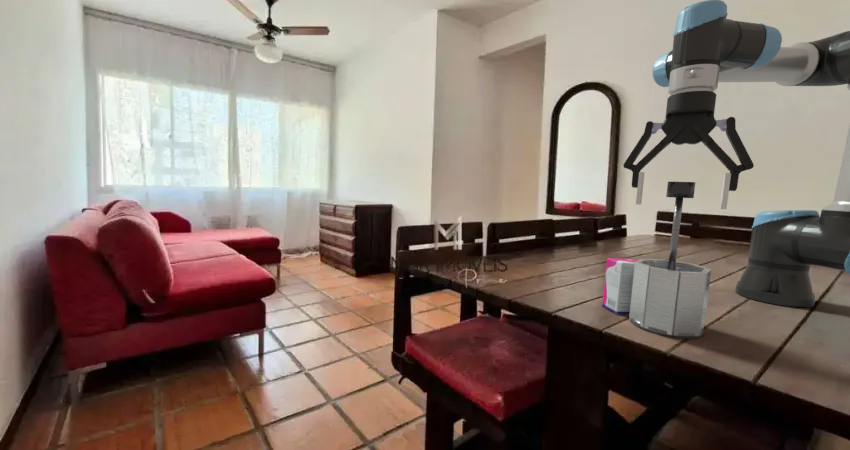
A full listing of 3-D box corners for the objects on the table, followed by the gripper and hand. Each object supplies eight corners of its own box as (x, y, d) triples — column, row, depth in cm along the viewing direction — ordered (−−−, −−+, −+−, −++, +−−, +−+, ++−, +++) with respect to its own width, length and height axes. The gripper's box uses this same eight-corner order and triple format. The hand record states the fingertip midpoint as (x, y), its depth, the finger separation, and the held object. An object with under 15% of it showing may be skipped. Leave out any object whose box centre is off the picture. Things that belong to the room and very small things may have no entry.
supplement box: (641, 314, 81) (646, 263, 80) (616, 314, 80) (620, 263, 79) (625, 305, 87) (629, 257, 85) (601, 305, 86) (605, 257, 85)
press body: (666, 311, 84) (672, 257, 82) (719, 339, 69) (728, 274, 67) (611, 309, 84) (617, 255, 82) (653, 337, 69) (660, 272, 67)
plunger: (675, 280, 78) (686, 182, 75) (702, 290, 70) (716, 182, 68) (639, 278, 78) (649, 181, 75) (662, 289, 70) (675, 181, 68)
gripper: (615, 96, 73) (605, 203, 76) (787, 80, 59) (768, 212, 62) (620, 103, 79) (610, 202, 82) (777, 90, 65) (760, 210, 68)
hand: (678, 206), depth 72 cm, fingers open, 13 cm apart
